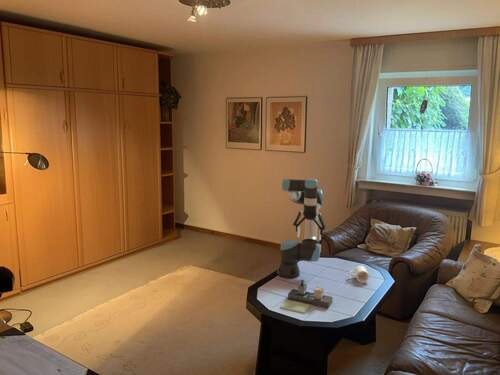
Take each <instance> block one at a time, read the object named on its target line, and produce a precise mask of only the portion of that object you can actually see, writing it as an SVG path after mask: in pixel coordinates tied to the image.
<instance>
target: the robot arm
mask: <svg viewBox="0 0 500 375" xmlns="http://www.w3.org/2000/svg"><path fill="white" fill-rule="evenodd" d="M318 185H319V183H318V180H317V179H316V178H306V179H290V178H286V179H285V178H284V179H282V181H281V190H282V191H283V192H287V193H286V194H287V198H288V200H290V201H291V202H293V203H294V204H297V205H303V211H302V210H300V211H298V213H297V214H298V215H297V216H296V218H295V220H294V222H293V223H292V226H295V232H296V237H297V238H300V236H301V226H300V225H301V224H302V223H303V222H304V221H305V222H304V236H303V237H304V238H303V239H301V242H299V240H298V239H286V240H284V241H282V242H281V243H280V255H279V256H280V257H279V258H280V259H279V260H280V263H279V265H278V267H277V272H276V274H277V276H279V277H281V276H282V277H281V278H284V277H285V279H295V278H298V277H300V273H301V272H300V267H299V265H298V264H299V263H298V262H299V261H300V262H310V263H312V262H318V261H319V259H320V256H321V251H322V250H321V249H322V244H321V243H320V241H321V240H322V236H323V234H324V231H325V229H326V228H327V226H326V223H325V220H324V219H323V216H322V213H321V212H319V210H320V209H321V208H322V206H323V205H324V194H323V190H322V189H318ZM301 216H303V217H302V219H300V218H301ZM318 228H319V229H318Z"/></svg>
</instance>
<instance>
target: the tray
mask: <svg viewBox="0 0 500 375" xmlns="http://www.w3.org/2000/svg"><path fill="white" fill-rule="evenodd" d="M310 307H311V304H306V303H301V302H297V301H292V300H288V299H286V300H285V301H283V303H282V305H280V307H279V308H280V309H282V310H283V309H284V310H287V311H291V312H297V313H300V314H306V312H307V311H308V309H309V308H310Z"/></svg>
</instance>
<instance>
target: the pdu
mask: <svg viewBox="0 0 500 375" xmlns="http://www.w3.org/2000/svg"><path fill="white" fill-rule="evenodd" d="M304 281H305V280H303V279H302V280H300V283H299V284H298V285H297V289H295V288H292V289H291V290H290V291H289V292H288V294H287V300H291V301H295V302H300V303H304V304H309V305H310V306H315V307H320V308H324V309H325V308H326V309H329V308H330V307H331V305H332V304H333V298H334V297H333V296H331V295H325V294H323V299H322V300H320V299H316V298H314V292H310V291H307V284H304Z"/></svg>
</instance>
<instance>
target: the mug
mask: <svg viewBox="0 0 500 375" xmlns="http://www.w3.org/2000/svg"><path fill="white" fill-rule="evenodd" d="M348 274H349V276H351V277H355V278H356V280H357V282H359V283H366V282H368V281H369V279H370V275H369V272H368V270H367V269H366V267H365V266H363V265H358V266H356V267H355V268H354V269H353V270H350V271H349V272H348Z"/></svg>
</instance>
